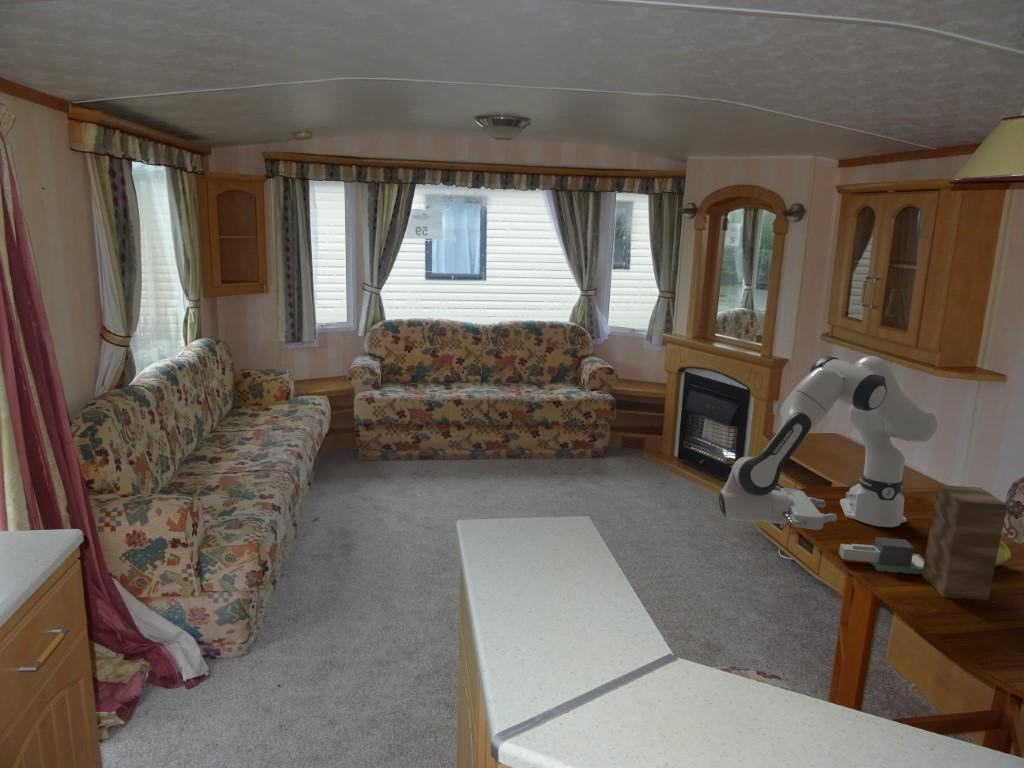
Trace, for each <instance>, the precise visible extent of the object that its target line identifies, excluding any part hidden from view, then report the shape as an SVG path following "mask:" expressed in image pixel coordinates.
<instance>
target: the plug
mask: <svg viewBox="0 0 1024 768" xmlns="http://www.w3.org/2000/svg"><path fill="white" fill-rule="evenodd" d="M874 540H875V541H874V544H873V545H871V544H858V543H850V544H848V543H847V544H846V543H840V546H839V551H838V554H839V556H840V558H841V559H842V560H846V561H847V560H848V561H849V560H850V561H857V562H858V561H859V562H869V563H870V562H879V563H880V564H886V565H897V566H908V567H911V562H912V556H913V554H914V551H915V547H913V545H911V544H910V542H908V541H907V539H904V538H903V539H900V538H891V537H890V538H889V537H879V536H875V539H874Z"/></svg>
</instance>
